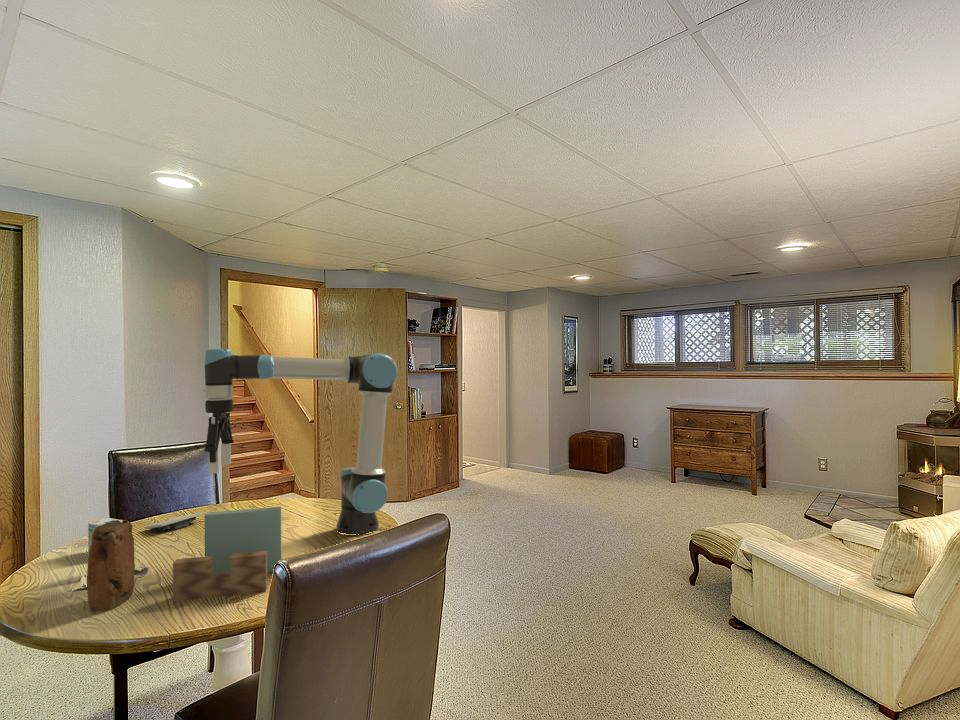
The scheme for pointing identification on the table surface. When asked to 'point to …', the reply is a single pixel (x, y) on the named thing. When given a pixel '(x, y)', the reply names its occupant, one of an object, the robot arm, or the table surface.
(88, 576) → the block
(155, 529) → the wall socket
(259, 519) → the teal slotted plate
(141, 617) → the table surface
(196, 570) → the walnut slotted board
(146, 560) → the table surface
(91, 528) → the light bulb box
